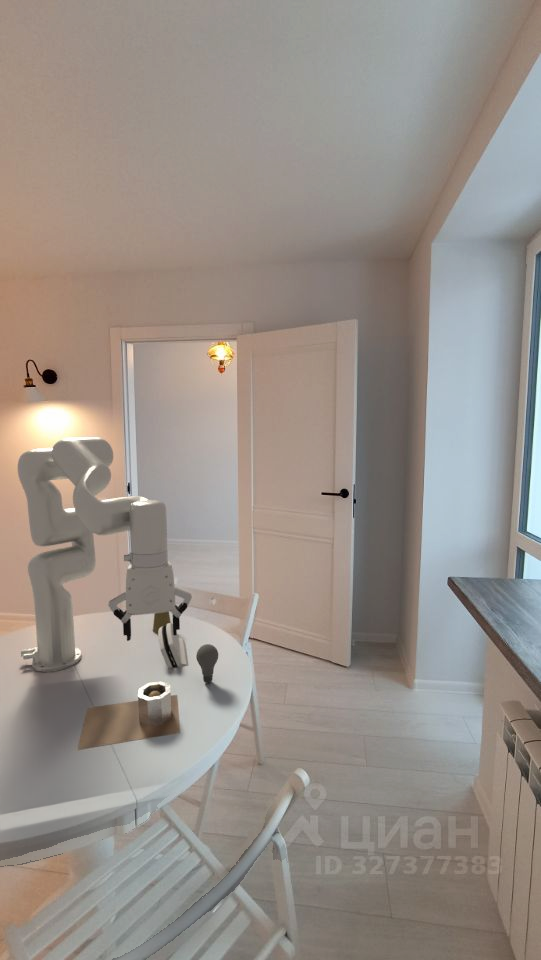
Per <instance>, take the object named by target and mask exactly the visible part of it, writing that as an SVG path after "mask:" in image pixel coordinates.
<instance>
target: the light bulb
mask: <svg viewBox="0 0 541 960" xmlns="http://www.w3.org/2000/svg"><path fill="white" fill-rule="evenodd" d="M196 660H197V661H196V662H197V663H198V665H199V667H200V669H201V673H202V678H203V679H202V680H203V682H204V683H206V684H209V683H211V682H212V681H213V677H214V675H213V674H214V669H215V665H216V664H217V662H218V660H219V652H218V649H217V647H215V645H212V644H209V643H208V644H203V645H201V646H200V647H199V648H198V650H197V652H196Z"/></svg>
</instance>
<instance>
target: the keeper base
mask: <svg viewBox="0 0 541 960" xmlns="http://www.w3.org/2000/svg"><path fill="white" fill-rule="evenodd" d="M160 695H161V694H160V692H158V691H152V692H151V693H150V694H149V697H156V696H160ZM180 733H181V728H180V713H179V700H178V694H174V695H171V718H170V719H169V720H167V721H166V722H165V723H164V724H162V725H157V726H151V727H148V726H146V725H143V724H141V723H139V706H138V700H133V701H127V702H118V703H111V704H105V705H99V706H92V707H87V710H86V714H85V718H84V723H83V726H82V730H81V733H80V734H81V735H80V738H79V742H78V746H77V751H78V750H85V749H90V748H91V749H92V748H98V747H103V746H110V745H115V744H122V743H127V742H132V741H138V740H145V739H146V740H147V739H151V738H157V737H164V736H168V735H175V734H180Z"/></svg>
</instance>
